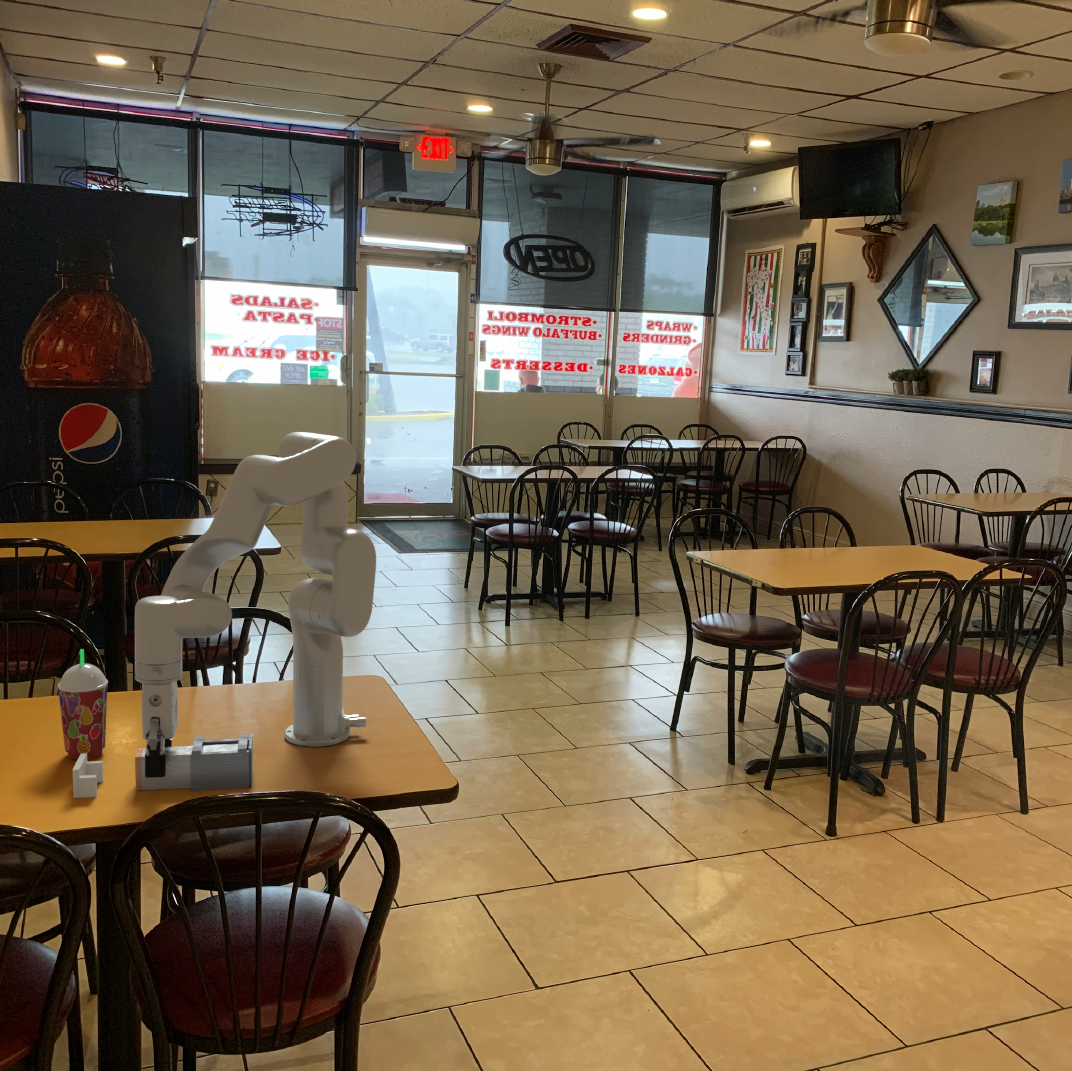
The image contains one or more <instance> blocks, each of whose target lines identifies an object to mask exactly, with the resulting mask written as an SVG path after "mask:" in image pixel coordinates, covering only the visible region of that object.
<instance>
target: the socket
mask: <svg viewBox="0 0 1072 1071" xmlns="http://www.w3.org/2000/svg"><path fill="white" fill-rule="evenodd" d="M103 782H104V761H103V760H95V761H94V760H93V761H88V760H87V753H83V754H80V756H79V758H78V760H76V762H75V765H74V766H73V768H72V787H73V788H72V789H73V790H72V792H73V799H83V798H87V799H88V798H97V796H98V783H103Z"/></svg>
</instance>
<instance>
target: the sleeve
mask: <svg viewBox="0 0 1072 1071" xmlns="http://www.w3.org/2000/svg"><path fill="white" fill-rule="evenodd" d="M253 737H254V734H253V733H250V734H248V733H243V734H238V737H237V738H219V739H217V738H216V739H215V738H214V739H205V736H204V735H203V736H194V739H193V741H192V746H193V748H192V753H191V754H190V770H191V788H190V792H194V791H195V792H199V791H200V792H201V791H216V790H218V791H219V790H232V789H233V790H235V789H236V790H237V789H252V787H253V775H254V773H253V772H254V751H253V750H254V741H253V740H254V738H253ZM221 744H238V750H237V751H217V752H202V747H203V745H221Z"/></svg>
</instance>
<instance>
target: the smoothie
mask: <svg viewBox="0 0 1072 1071" xmlns="http://www.w3.org/2000/svg"><path fill="white" fill-rule="evenodd" d="M79 658H80V663H78V664H74V665H73V666H71V667H69V668H68V669H67V670H66V671H65V672H64V673H63V675H62V677H61V680H60V681H59V682H58V684H57V688H58V698H59V709H60V717H61V725H62V726H61V727H62V733H63V735H62V736H63V744H64V751H65V752H66V753H67V756H68V758H69V759H72V760H74V761H75V760H76V761H77V760H78V758H79V756H80V754H83V753H87V761H88V760H92V759H95V758H97V757H100V756H101V755H102V754H103V749H104V748H106V735H107V734H106V731H107V728H106V727H107V708H108V707H107V706H108V705H107V703H108V683H109V680H108V679H107V678H106V677H105V675H104V673H103V672H102V670H101V669H99V667H97V666H96V665H94V664H91V663H85V649H84V648H83V649H82V648H81V649H80V650H79Z"/></svg>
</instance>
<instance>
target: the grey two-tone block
mask: <svg viewBox="0 0 1072 1071" xmlns="http://www.w3.org/2000/svg"><path fill="white" fill-rule="evenodd" d="M192 748H193V745H186V746H185V745H183V746H181V745H180V746H179V745H178V746H172V747H164V753H166V775H165V777H155V778H146V777H145V754H146V747H142V748H137V751H136V753H135V756H134V767H135V768H134V772H135V773H134V775H135V791H156V790H169V789H189V788H190V789H191V770H190V754H191V753H192ZM237 750H238V744H221V745H203V747H202V752H217V751H237Z"/></svg>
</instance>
